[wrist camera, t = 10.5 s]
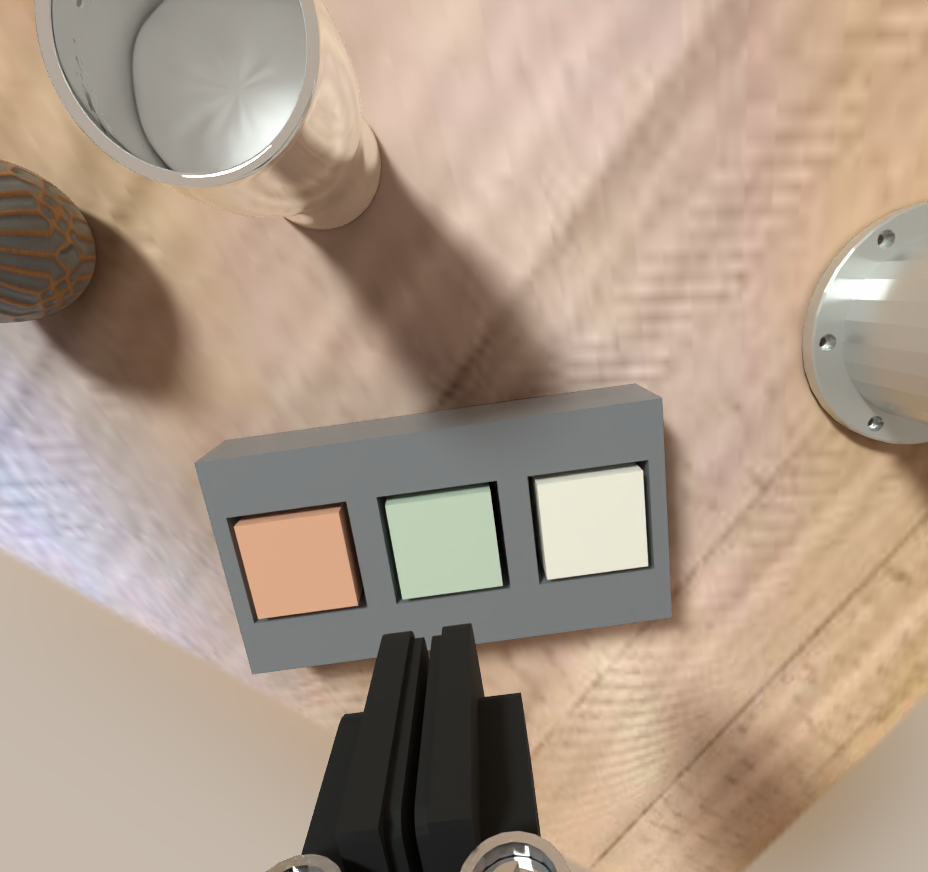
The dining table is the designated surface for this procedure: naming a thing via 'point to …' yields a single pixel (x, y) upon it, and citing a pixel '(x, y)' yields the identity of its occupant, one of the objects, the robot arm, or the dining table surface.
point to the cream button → (590, 520)
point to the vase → (40, 247)
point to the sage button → (444, 540)
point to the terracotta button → (300, 560)
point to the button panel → (433, 467)
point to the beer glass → (219, 101)
